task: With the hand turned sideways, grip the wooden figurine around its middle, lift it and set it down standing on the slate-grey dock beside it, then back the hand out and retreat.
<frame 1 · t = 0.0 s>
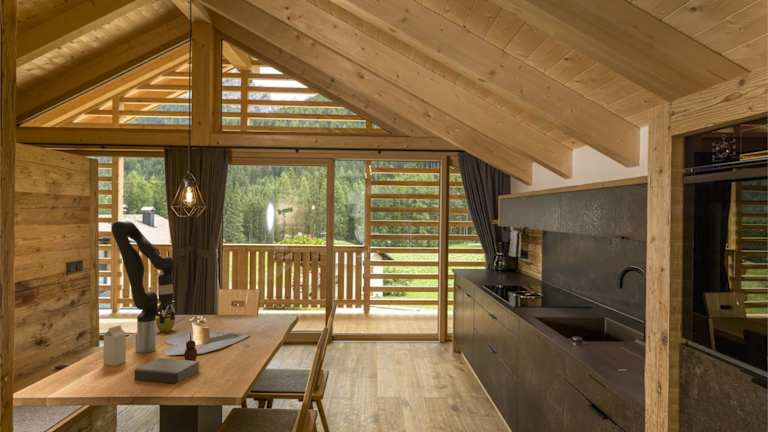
hand: (167, 321, 257), 17 cm above the table, tool pointing down, fingers open, 8 cm apart
milk carton: (114, 363, 239), on the table
wooden figurine: (190, 362, 241), on the table
flower pot: (165, 331, 303), on the table
dock: (168, 375, 222), on the table
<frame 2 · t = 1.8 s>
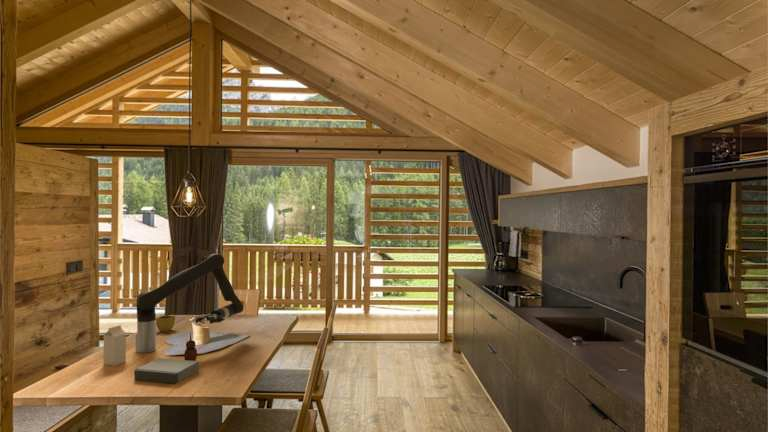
hand: (203, 321, 252), 19 cm above the table, tool horizontal, fingers open, 8 cm apart
nothing on the table moved.
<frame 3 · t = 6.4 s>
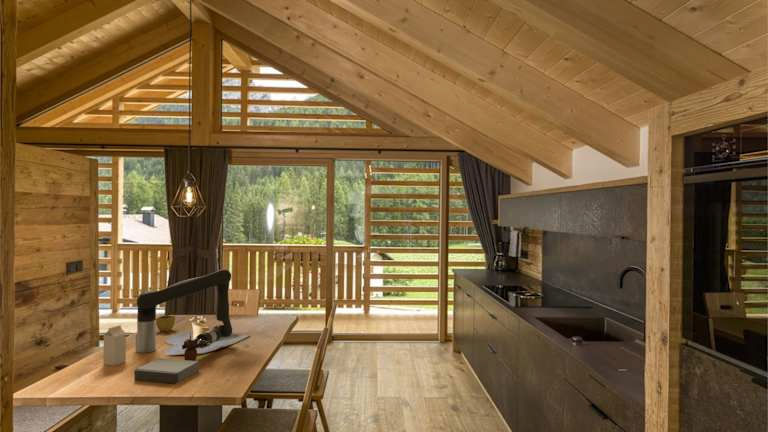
hand: (187, 347, 238), 9 cm above the table, tool horizontal, fingers closed on wooden figurine, 4 cm apart
wooden figurine: (190, 362, 241), on the table, touching gripper
everything else where it was.
when the fingers open (14 cm above the table, at t = 11.3 s): wooden figurine stays where it is, resting on dock.
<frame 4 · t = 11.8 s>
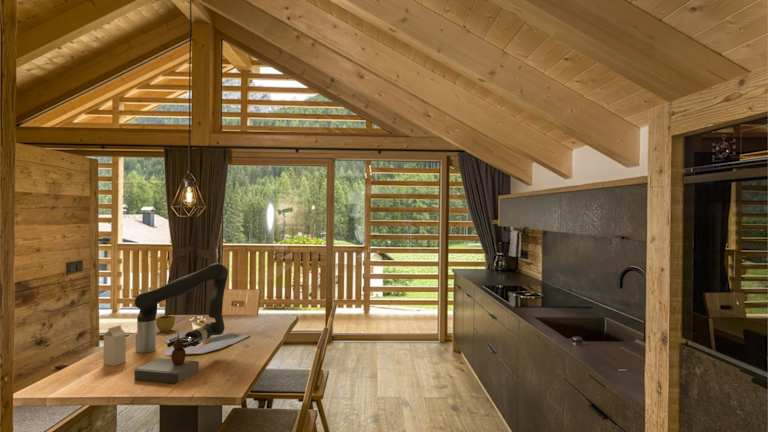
hand: (175, 345, 221), 15 cm above the table, tool horizontal, fingers open, 8 cm apart
wooden figurine: (178, 364, 224), point 5 cm above the table, touching dock
everything else where it was.
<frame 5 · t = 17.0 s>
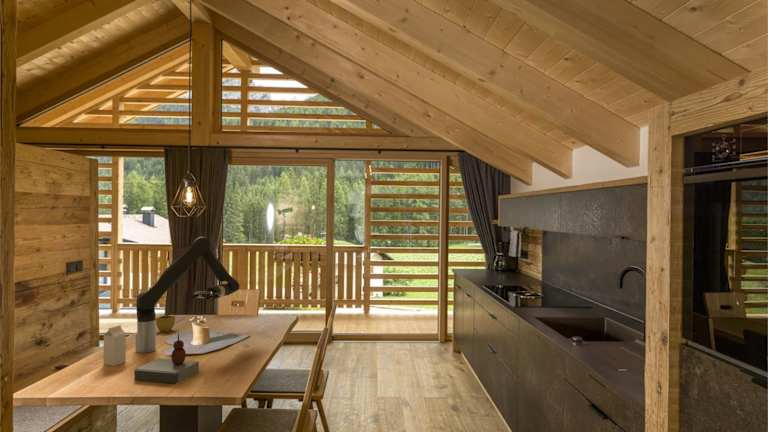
hand: (198, 297, 251), 32 cm above the table, tool horizontal, fingers open, 8 cm apart
nothing on the table moved.
at the end: wooden figurine inside the target area on the dock (4.6 cm from its centre), point 4.8 cm above the dock's base; wooden figurine tilted 0°; the gripper is holding nothing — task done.
